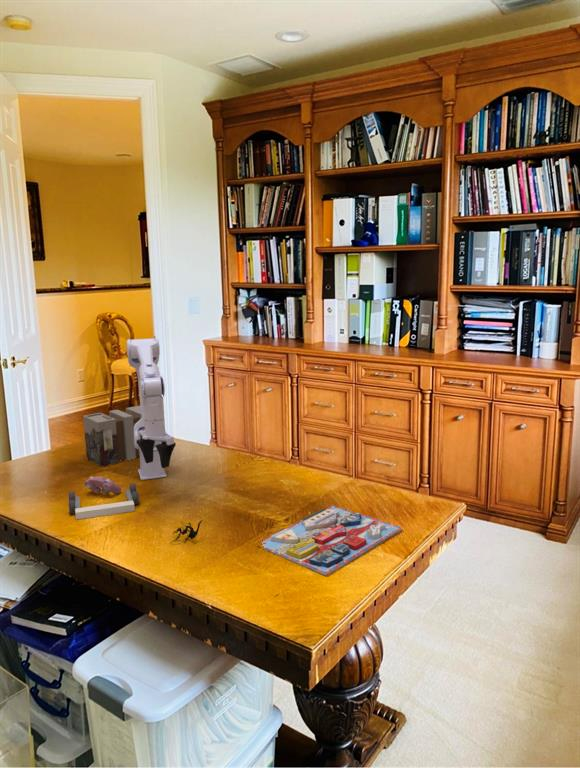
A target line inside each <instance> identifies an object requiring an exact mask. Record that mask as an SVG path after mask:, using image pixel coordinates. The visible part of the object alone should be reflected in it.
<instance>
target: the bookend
mask: <svg viewBox="0 0 580 768" xmlns="http://www.w3.org/2000/svg"><path fill="white" fill-rule="evenodd" d="M108 413H109V414H108V415H106V414H104V413H103V412H96V413H90V414H86V415H83V417H82V420H83V427H84V428H83V430H84V431H83V432H84V442H85V454H86V459H87V458H88V459H90V460H91V462H92V461H93V462H94V464H95V463H96V464H95V465H97V464H98V465H100V466H104V467H106V466H105V465H108V466H110V465H109V464H112V465H114V464H113V463H117V462H119V461H120V460H124V461H127V460H129V461H132V460H131V459H133V460H136V459H135V458H136V457H137V458H139V457H138V456H140V453H139V449H137V448H135V444H134V425H135V424H136V423H137V422H138V421H139V420H140V419H141V407H140V405H136V406H135V405H134V406H131V407H130V406H129V407H125V411H123V410H122V411H121V410H119V409H113V410H109V411H108ZM140 429H145V428H140ZM88 459H87V460H88ZM125 459H126V460H125ZM90 460H89V461H90ZM93 462H92V463H93ZM120 462H121V461H120ZM120 462H119V463H120ZM117 464H118V463H117ZM98 465H97V466H98ZM100 466H99V467H100Z"/></svg>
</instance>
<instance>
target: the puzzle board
mask: <svg viewBox="0 0 580 768" xmlns="http://www.w3.org/2000/svg"><path fill="white" fill-rule="evenodd" d="M402 530H403V528H402V526H398V525H396V524H393V523H389V522H386V521H383V520H380V519H377V518H374V517H370V516H368V515H364V514H361V513H360V512H355V511H352V510H349V509H344V508H341V507H339V506H335V505H331V506H329V507H327V508H322V509H320V510H318V511H316V512H314V513H312V514H311V515H308V516H306V517H304V518H302V519H300V521H299V522H296V523H295V524H293V525H290V526H288V527H287V528H282V529H280V530H278V531H276V532H274V533H272V534H271V535H269V536H268V537H266V538H264V539H262V540H263V542H262V540H260V541H261V542H262V544H263V543H266V544H263V545H262V546H264V547H262V548H264V549H266V550H268V551H267V552H269V551H270V552H269V553H271V552H272V553H271V554H273V553H274V555H275V556H279V558H282V557H283V559H285V560H287V561H290V562H292V563H294V564H296V565H299V566H301V567H304V568H305V569H308V570H310V571H312V572H314V573H317V574H319V575H321V576H324V577H329V576H331V575H332V574H333V573H335V572H336V571H338V570H340V569H342V568H343V567H345V566H347V565H348V564H350V563H352V562H354V561H355V560H357V559H358V558H360V557H362V556H363V555H365V554H366V553H368V552H369V551H371V550H373V549H375V548H376V547H378V546H379V545H382V544H383V543H385V542H386V541H388V540H390V539H391V538H393V537H395V536H396V535H398V534H399V533H401V532H402ZM262 548H261V549H262ZM264 549H263V550H264ZM266 550H265V551H266Z"/></svg>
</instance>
